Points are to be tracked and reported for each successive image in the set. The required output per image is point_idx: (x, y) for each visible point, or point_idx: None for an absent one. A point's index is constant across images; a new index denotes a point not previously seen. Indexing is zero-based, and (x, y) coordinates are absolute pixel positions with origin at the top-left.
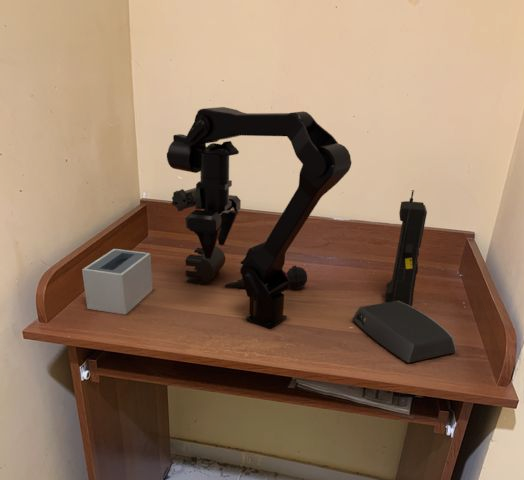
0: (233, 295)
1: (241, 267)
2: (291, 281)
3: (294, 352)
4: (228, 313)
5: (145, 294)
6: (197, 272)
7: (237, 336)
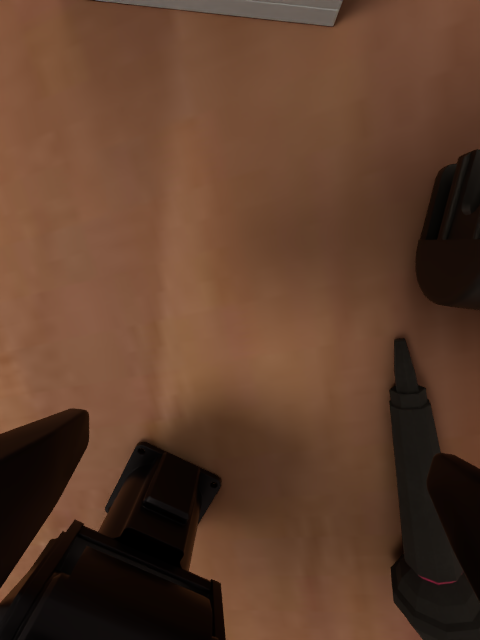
0: (328, 377)
1: (29, 620)
2: (402, 579)
3: None
4: (179, 383)
5: (254, 10)
6: (457, 217)
7: None
